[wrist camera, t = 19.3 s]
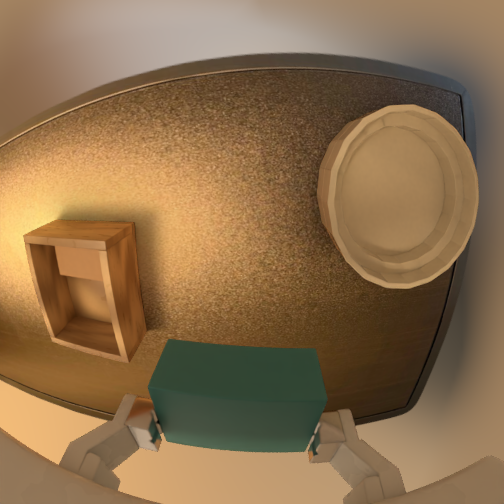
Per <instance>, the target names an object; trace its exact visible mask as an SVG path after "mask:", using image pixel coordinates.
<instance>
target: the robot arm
mask: <svg viewBox="0 0 504 504" xmlns="http://www.w3.org/2000/svg"><path fill="white" fill-rule="evenodd" d="M161 433H163V431H162V428H161V425H160V423H159V420H158V417H157V414H156V411H155V408H154V405H153V402H152V399H149V398H145V397H141V396H137V395H133V394H129V393H127V394H126V395H125V396H124V398H123V400H122V402H121V404H120V406H119V408H118V410H117V412H116V414H115V416H114V419H113V421H107V422H106V423H104V424H102V425H101V426H99V427H97V428H96V429H94V430H92V431H90V432H89V433H87V434H85V435H83V436H81V437H80V438H78V439H76V440H74V441H72V442H70V444H69V446H68V447H67V449H66V452H65V454H64V455H63V457H62V460H61V461H60V464H59V465H58V464H56V463H54V462H52V461H50V460H49V459H47V458H45V457H43V456H42V455H40V454H38V453H37V452H35V451H33V450H32V449H30V448H29V447H27V446H26V445H24V444H22V443H21V442H20V441H18V440H17V439H15V438H14V437H12V436H11V435H10V434H8V433H7V432H6V431H4V430H3V429H1V428H0V504H160V503H156V502H152V501H149V500H145V499H142V498H138V497H135V496H132V495H129V494H125V493H123V492H120V491H118V487H119V484H120V480H119V478H118V477H117V476H116V475H115V474H114V473H113V472H112V470H113V469H115V468H116V467H117V466H118V465H120V464H121V463H122V462H123V461H125V460H126V459H127V458H128V457H130V456H131V455H132V454H133V453H135V452H136V451H137V450H138V449H139V447H140V448H143V449H148V450H152V451H157V452H158V450H159V447H160V444H161V441H162V439H161V436H160V434H161ZM309 444H310V448H309V450H308V454H309V462H310V463H322V462H330V464H331V465H332V466H333V467H334V469H335V470H336V471H337V472H338V473H339V474H340V475H341V476H342V477H343V479H344V480H345V481H346V482H347V483H348V484H349V485H350V486H351V487H352V488H353V490H352V491H351V492H350V493H348V494H347V495H346V496H345V497H344V498H343V502H344V504H504V461H502V460H500V459H498V458H496V457H493V456H486V457H484V458H482V459H480V460H479V461H477V462H475V463H473V464H472V465H470V466H468V467H466V468H464V469H462V470H460V471H458V472H456V473H454V474H452V475H450V476H448V477H445V478H443V479H441V480H439V481H436V482H434V483H432V484H429V485H427V486H424V487H422V488H419V489H416V490H413V491H411V492H408V493H406V491H405V488H404V484H403V481H402V477H401V474H400V471H399V469H398V468H397V467H396V466H395V465H393V464H392V463H391V462H389V461H388V460H387V459H386V458H384V457H383V456H381V454H379V453H378V452H377V451H376V450H374V449H373V448H372V447H371V446H369V445H368V444H367V443H366V442H365V441H363V440H359V438H358V435H357V431H356V428H355V424H354V421H353V417H352V414H351V411H350V410H349V409H345V410H331V411H323V412H322V415H321V417H320V420H319V422H318V424H317V426H316V429H315V431H314V433H313V435H312V437H311V439H310V442H309Z"/></svg>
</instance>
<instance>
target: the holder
mask: <svg viewBox="0 0 504 504" xmlns="http://www.w3.org/2000/svg"><path fill="white" fill-rule="evenodd" d="M23 236H24V242H25V248H26V253H27V258H28V263H29V267H30V271H31V275H32V279H33V283H34V287H35V291H36V294H37V298H38V301H39V304H40V308H41V311H42V314H43V317H44V320H45V323H46V325H47V328H48V331H49V334H50V336H51V339H52V341H53V342H55V343H58V344H61V345H64V346H67V347H70V348H73V349H76V350H80V351H83V352H86V353H90V354H94V355H97V356H101V357H105V358H109V359H113V360H117V361H121V362H125V363H130V361H131V359H132V357H133V356H134V354H135V352H136V350H137V348H138V347H139V345H140V343H141V341H142V339H143V338H144V336H145V334H146V332H147V328H146V323H145V317H144V310H143V304H142V296H141V289H140V281H139V272H138V263H137V252H136V240H135V224H134V222H112V221H81V220H55V221H52V222H50V223H48V224H46V225H44V226H42V227H39V228H37V229H35V230H33V231H31V232H29V233H27V234H25V235H23ZM55 246H63V247H74V248H85V249H96V250H99V256H100V263H101V270H102V276H103V281H96V280H90V279H83V278H77V277H71V276H65V275H60V272H59V267H58V262H57V256H56V251H55Z"/></svg>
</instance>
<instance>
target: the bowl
mask: <svg viewBox="0 0 504 504" xmlns="http://www.w3.org/2000/svg"><path fill="white" fill-rule="evenodd" d="M317 200H318V205H319V210H320V215H321V220H322V223H323V225H324V227H325V229H326V231H327V233H328V235H329V236H330V238H331V240H332V242H333V244H334V245H335V247H336V248H337V249H338V251H339V252H340V254H341V255H342V256H343V258H344V259H345V260H346V262H347V263H348V264H350V265H351V266H352V267H353V268H354V269H355V270H356V271H357V272H358V273H359V274H360V275H361V276H362V277H363V278H364V279H366V280H368V281H371V282H373V283H376V284H378V285H380V286H383V287H385V288H412V287H415V286H418V285H421V284H424V283H427V282H430V281H432V280H433V279H434V278H436V277H437V276H439V275H440V274H442V273H443V272H444V271H446V270H447V269H448V268H449V267H450V266H451V265H452V264H453V262H454V261H455V260H456V259H457V258H458V256H459V255H460V254H461V252H462V251H463V250H464V248H465V246H466V244H467V242H468V240H469V237H470V235H471V233H472V231H473V228H474V225H475V220H476V216H477V210H478V204H479V188H478V175H477V171H476V168H475V165H474V161H473V158H472V155H471V152H470V150H469V148H468V147H467V145H466V143H465V142H464V140H463V139H462V137H461V136H460V134H459V133H458V131H457V130H456V129H455V128H454V127H453V126H452V125H451V124H450V123H448V122H447V121H446V120H445V119H444V118H443V117H441V116H440V115H439V114H438V113H436V112H433V111H430V110H428V109H425V108H422V107H420V106H417V105H390V106H386V107H383V108H380V109H377V110H373V111H370V112H368V113H366V114H364V115H362V116H360V117H358V118H356V119H354V120H352V121H350V122H349V123H347V124H346V125H345V126H344V127H343V129H342V130H341V131H340V132H339V133H338V134H337V135H336V136H335V137H334V139H333V140H332V141H331V142H330V144H329V146H328V149H327V151H326V153H325V156H324V158H323V160H322V163H321V165H320V168H319V178H318V188H317Z"/></svg>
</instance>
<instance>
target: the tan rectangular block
mask: <svg viewBox="0 0 504 504" xmlns="http://www.w3.org/2000/svg"><path fill="white" fill-rule="evenodd" d="M55 251H56V256H57V262H58V267H59V272H60V275H65V276H71V277H77V278H83V279H90V280H96V281H103V276H102V270H101V263H100V256H99V250H96V249H85V248H74V247H63V246H55Z"/></svg>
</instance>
